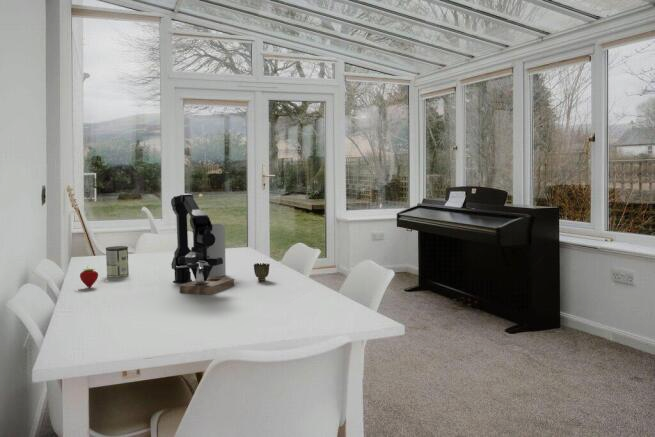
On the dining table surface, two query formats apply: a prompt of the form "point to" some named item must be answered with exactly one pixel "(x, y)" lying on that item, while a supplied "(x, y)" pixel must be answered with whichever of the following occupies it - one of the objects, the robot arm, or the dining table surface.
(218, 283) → the mount block
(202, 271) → the lock pin
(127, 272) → the coffee can
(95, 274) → the strawberry
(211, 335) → the dining table surface
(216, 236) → the cylinder vase
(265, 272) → the cup
